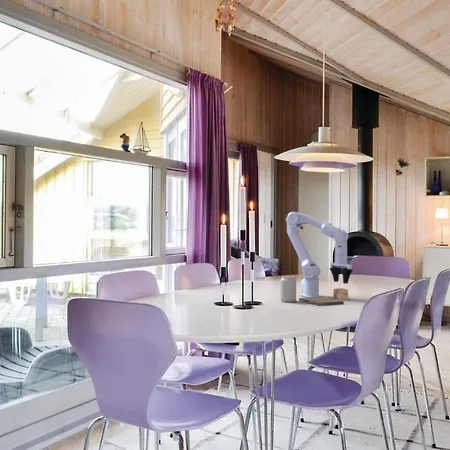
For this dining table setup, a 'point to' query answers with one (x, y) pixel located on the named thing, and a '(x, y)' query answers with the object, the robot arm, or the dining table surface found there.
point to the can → (288, 289)
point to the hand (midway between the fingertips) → (340, 282)
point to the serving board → (321, 301)
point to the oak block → (340, 294)
